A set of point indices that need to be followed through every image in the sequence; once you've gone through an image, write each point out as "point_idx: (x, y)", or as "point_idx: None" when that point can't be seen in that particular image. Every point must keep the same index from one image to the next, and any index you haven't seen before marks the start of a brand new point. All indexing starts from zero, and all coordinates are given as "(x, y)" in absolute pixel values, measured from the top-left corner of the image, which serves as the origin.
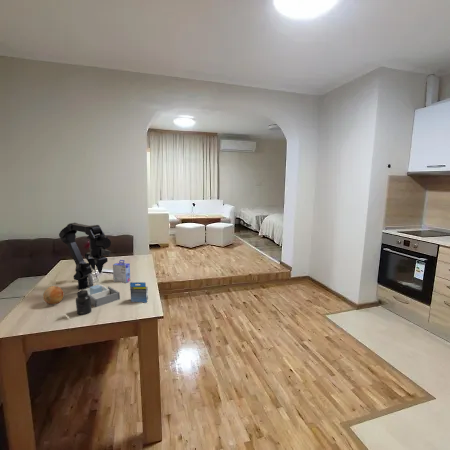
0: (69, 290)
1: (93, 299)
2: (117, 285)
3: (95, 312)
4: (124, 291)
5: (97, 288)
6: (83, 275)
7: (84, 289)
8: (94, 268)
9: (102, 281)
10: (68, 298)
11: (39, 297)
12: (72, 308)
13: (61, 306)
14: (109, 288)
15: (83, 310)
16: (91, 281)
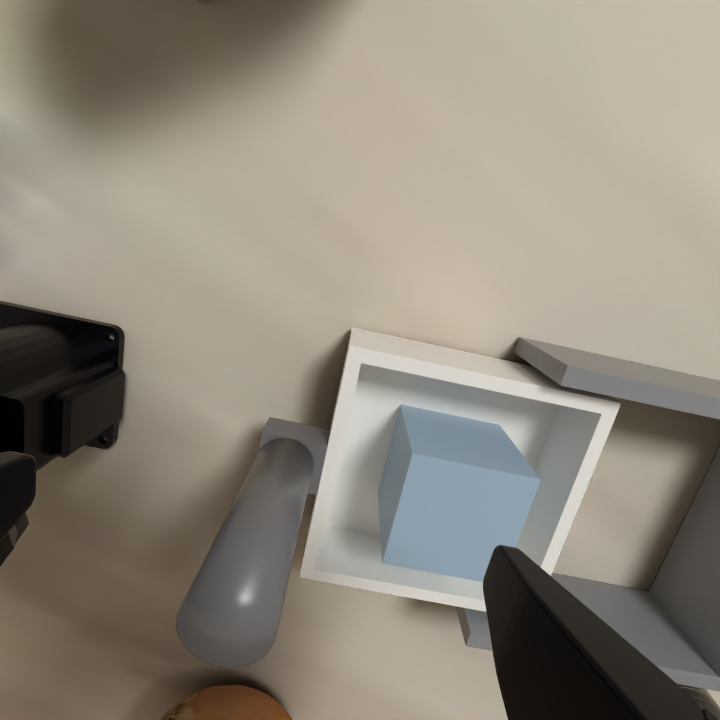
0: (33, 503)
1: (681, 678)
2: (373, 69)
3: None
4: (633, 173)
5: (518, 533)
6: (8, 547)
7: (308, 558)
8: (17, 475)
9: (36, 89)
10: None
11: (3, 704)
12: (461, 683)
13: (345, 703)
14: (604, 391)
15: None
16: (301, 519)
